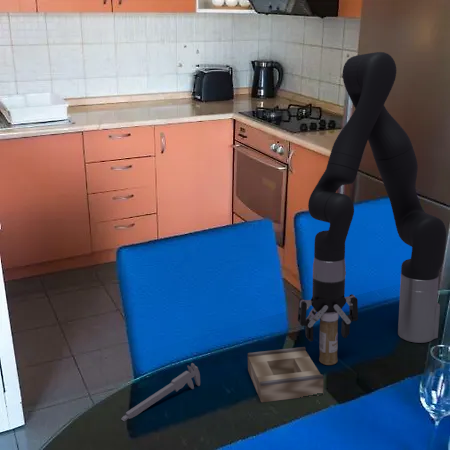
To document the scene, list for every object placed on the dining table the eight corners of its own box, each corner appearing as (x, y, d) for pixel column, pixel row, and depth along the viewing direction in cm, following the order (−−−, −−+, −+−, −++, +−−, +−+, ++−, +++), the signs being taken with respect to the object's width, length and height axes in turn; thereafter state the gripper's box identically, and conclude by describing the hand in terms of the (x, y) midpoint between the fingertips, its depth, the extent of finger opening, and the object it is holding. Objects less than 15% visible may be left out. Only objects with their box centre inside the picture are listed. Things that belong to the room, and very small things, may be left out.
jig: (304, 363, 144) (304, 346, 142) (323, 394, 130) (323, 376, 129) (248, 370, 142) (247, 353, 140) (261, 402, 128) (260, 383, 127)
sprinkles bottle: (338, 366, 142) (339, 314, 138) (319, 365, 143) (319, 314, 139) (336, 356, 147) (337, 306, 143) (318, 356, 147) (318, 306, 143)
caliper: (197, 384, 137) (196, 360, 135) (200, 386, 136) (199, 362, 134) (121, 420, 124) (118, 394, 122) (123, 422, 123) (121, 396, 121)
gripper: (352, 267, 143) (349, 329, 148) (295, 272, 141) (294, 334, 146) (363, 278, 136) (361, 342, 141) (304, 283, 134) (303, 348, 138)
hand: (327, 338), depth 143 cm, fingers open, 8 cm apart
